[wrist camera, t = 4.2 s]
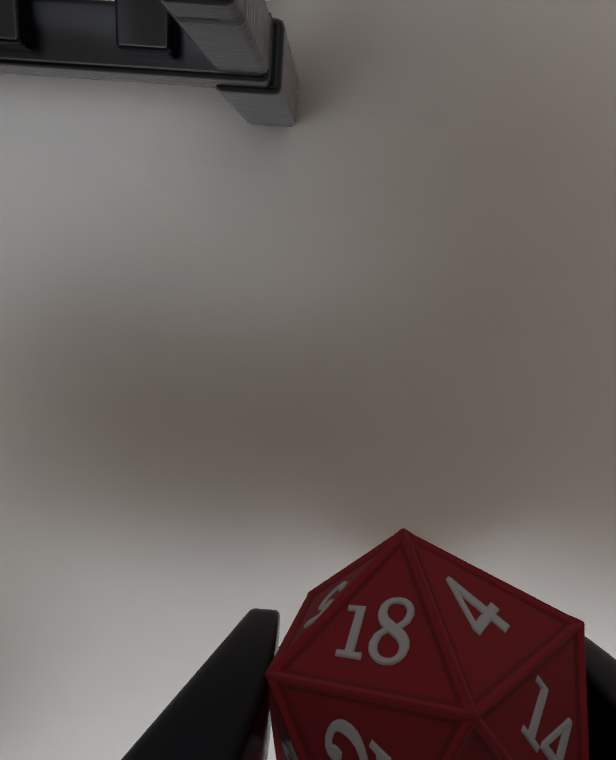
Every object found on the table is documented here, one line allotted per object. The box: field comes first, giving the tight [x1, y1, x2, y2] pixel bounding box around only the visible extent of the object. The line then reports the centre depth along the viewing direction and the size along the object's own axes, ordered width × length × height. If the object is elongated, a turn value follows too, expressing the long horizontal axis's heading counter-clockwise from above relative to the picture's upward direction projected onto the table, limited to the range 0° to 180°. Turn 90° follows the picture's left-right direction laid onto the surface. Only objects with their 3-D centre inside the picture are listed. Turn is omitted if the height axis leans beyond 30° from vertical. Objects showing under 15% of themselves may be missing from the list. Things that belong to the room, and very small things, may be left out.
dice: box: [264, 528, 589, 760], centre depth 7 cm, size 4×4×4 cm
